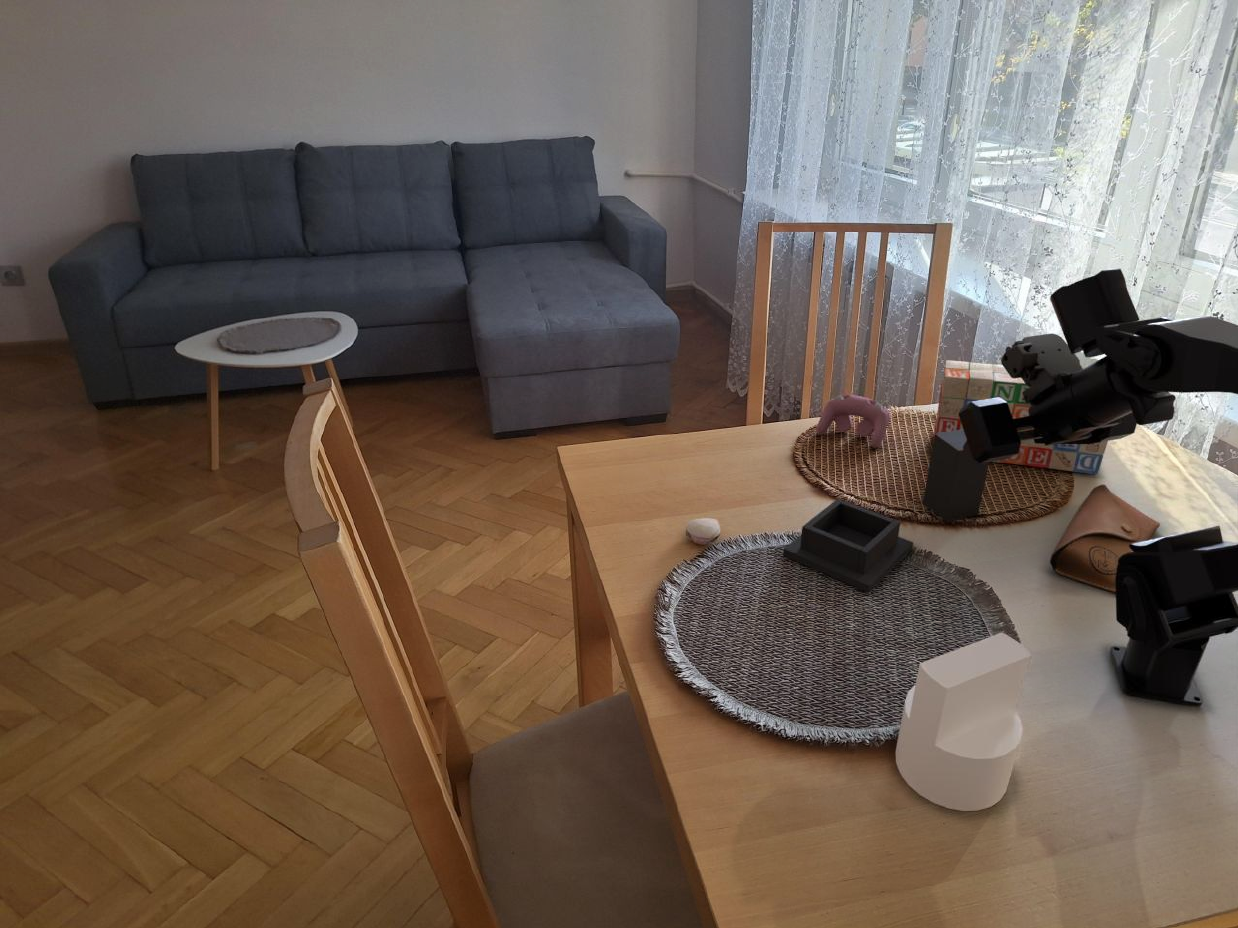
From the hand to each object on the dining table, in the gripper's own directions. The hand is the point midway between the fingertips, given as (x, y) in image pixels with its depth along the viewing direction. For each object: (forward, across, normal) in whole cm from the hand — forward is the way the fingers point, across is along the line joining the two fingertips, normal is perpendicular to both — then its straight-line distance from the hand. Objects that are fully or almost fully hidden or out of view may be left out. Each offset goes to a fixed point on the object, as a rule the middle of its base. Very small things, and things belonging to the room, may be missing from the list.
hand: (1000, 445), depth 95 cm
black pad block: (+13, 0, +4) cm, 14 cm away
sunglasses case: (+4, -12, +14) cm, 19 cm away
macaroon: (+16, +32, +2) cm, 36 cm away
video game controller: (+29, +2, -11) cm, 31 cm away
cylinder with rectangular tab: (-12, +24, +29) cm, 40 cm away
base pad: (+10, +17, +8) cm, 21 cm away
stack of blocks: (+20, -17, -2) cm, 26 cm away
